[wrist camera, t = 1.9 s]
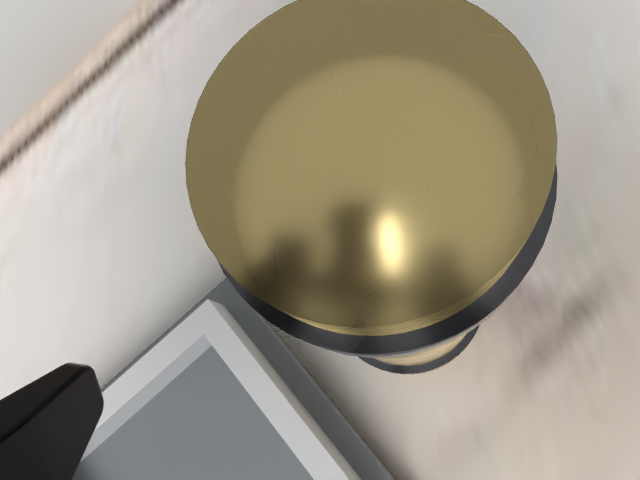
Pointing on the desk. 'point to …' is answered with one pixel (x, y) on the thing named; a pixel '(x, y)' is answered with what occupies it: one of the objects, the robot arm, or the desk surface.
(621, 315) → the desk surface
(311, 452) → the coupling station
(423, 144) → the disc
